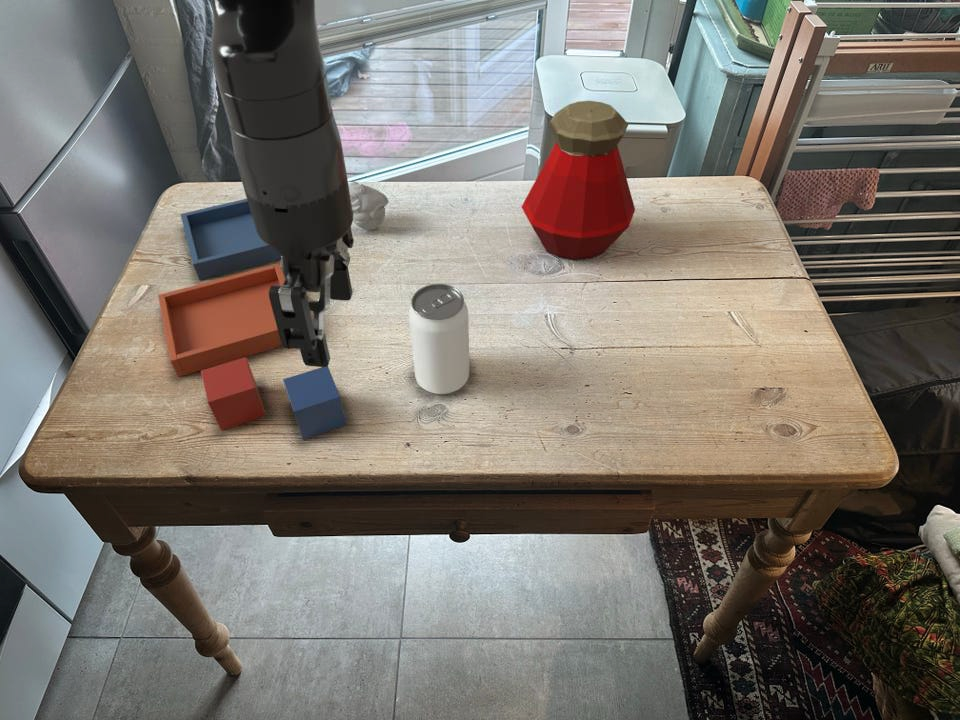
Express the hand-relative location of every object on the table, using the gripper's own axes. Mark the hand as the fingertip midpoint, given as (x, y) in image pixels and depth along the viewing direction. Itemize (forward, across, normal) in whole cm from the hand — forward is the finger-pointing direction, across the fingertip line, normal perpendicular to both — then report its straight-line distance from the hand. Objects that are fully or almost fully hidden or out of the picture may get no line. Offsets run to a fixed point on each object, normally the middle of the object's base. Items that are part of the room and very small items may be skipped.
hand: (329, 329), depth 62 cm
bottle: (+17, -38, +24) cm, 48 cm away
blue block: (+17, -3, -5) cm, 18 cm away
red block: (+17, -3, -14) cm, 22 cm away
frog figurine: (+17, -39, -7) cm, 43 cm away
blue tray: (+17, -34, -24) cm, 44 cm away
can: (+17, -10, +8) cm, 22 cm away
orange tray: (+17, -16, -20) cm, 31 cm away
